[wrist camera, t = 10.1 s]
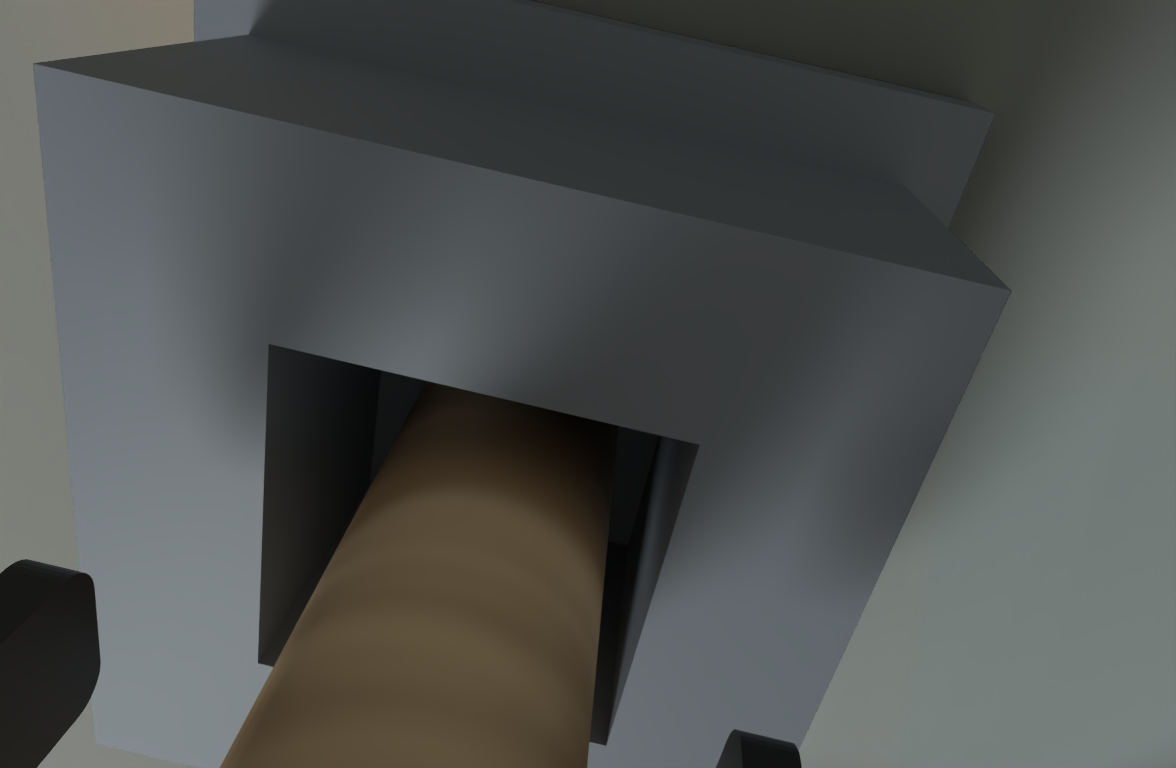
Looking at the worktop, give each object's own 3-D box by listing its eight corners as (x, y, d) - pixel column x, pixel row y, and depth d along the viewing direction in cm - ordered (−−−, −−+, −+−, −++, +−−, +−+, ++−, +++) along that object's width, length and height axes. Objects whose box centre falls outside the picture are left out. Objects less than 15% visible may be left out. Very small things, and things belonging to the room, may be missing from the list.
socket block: (235, -68, 16) (-67, -97, 9) (969, 101, 16) (1157, 187, 9) (228, 558, 22) (49, 784, 16) (741, 679, 22) (760, 954, 16)
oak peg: (443, 295, 17) (53, 927, 6) (640, 341, 17) (600, 1039, 6) (419, 460, 18) (91, 1162, 8) (596, 500, 19) (508, 1243, 8)
